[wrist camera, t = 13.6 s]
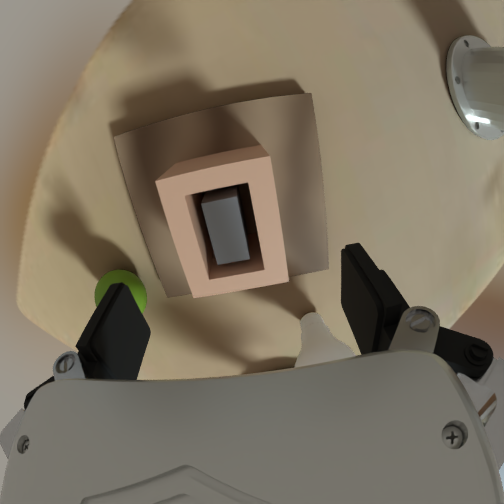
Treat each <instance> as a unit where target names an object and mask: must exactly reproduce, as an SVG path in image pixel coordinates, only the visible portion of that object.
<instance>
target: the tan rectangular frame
mask: <svg viewBox="0 0 504 504" xmlns="http://www.w3.org/2000/svg"><path fill="white" fill-rule="evenodd" d="M155 182H156V186H157V189H158V193H159V196H160V199H161V203H162V206H163V209H164V213H165V216H166V219H167V222H168V225H169V229H170V232H171V235H172V238H173V241H174V244H175V247H176V250H177V253H178V256H179V259H180V262H181V265H182V267H183V270H184V273H185V276H186V279H187V281H188V284H189V287H190V290H191V292H192V295H193V298H198V297H204V296H211V295H217V294H223V293H229V292H234V291H240V290H246V289H252V288H257V287H263V286H268V285H274V284H279V283H284V282H289V277H288V270H287V262H286V255H285V248H284V241H283V234H282V227H281V220H280V214H279V207H278V201H277V194H276V188H275V182H274V175H273V169H272V163H271V158H270V155H269V154H268V153H267V151H266V150H265V149H264V148H263V147H262V145H257V146H252V147H246V148H241V149H236V150H231V151H226V152H221V153H216V154H212V155H207V156H203V157H198V158H194V159H190V160H186V161H182V162H178V163H175V164H174V165H173V166H172V167H171V168H170V169H168V170H167V171H166V172H165V173H164V174H163V175H162V176H160V177H159V178H158V179H157V180H156V181H155ZM247 182H248V184H249V189H250V195H251V200H252V205H253V210H254V215H255V221H256V226H257V231H258V233H253V234H248V246H249V256H250V259H247V260H242V261H236V262H231V263H225V264H220V265H218V264H217V261H216V257H215V254H214V250H213V246H212V243H211V239H210V235H209V232H208V228H207V224H206V220H205V216H204V213H203V209H202V205H201V203H202V200H203V194H202V192H203V191H208V190H212V189H217V188H222V187H227V186H232V185H237V184H242V183H247Z"/></svg>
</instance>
